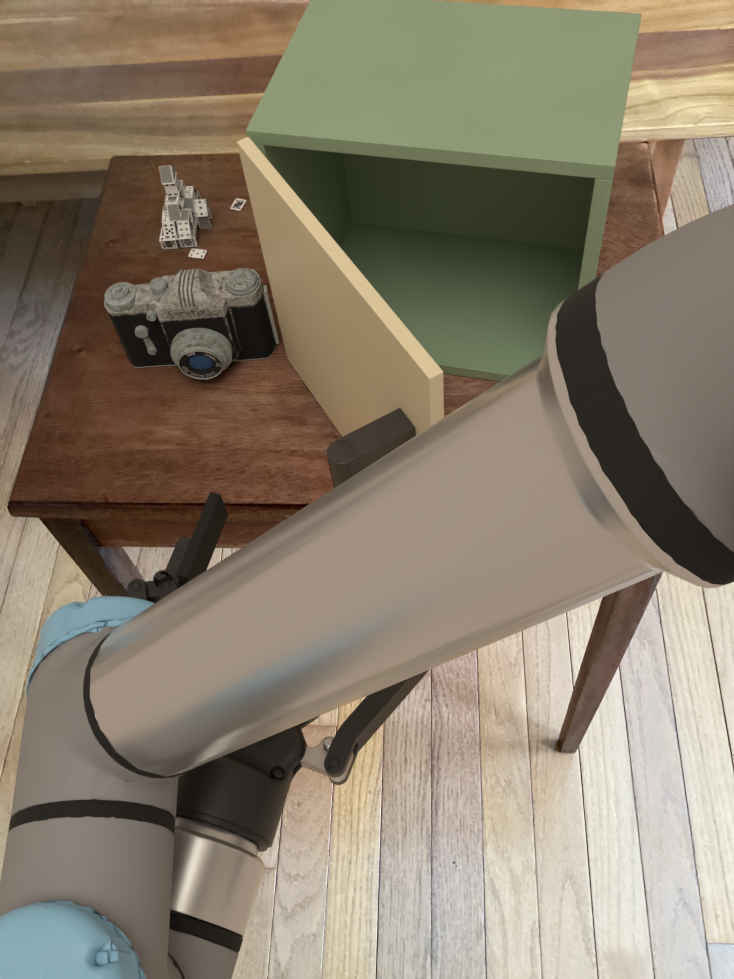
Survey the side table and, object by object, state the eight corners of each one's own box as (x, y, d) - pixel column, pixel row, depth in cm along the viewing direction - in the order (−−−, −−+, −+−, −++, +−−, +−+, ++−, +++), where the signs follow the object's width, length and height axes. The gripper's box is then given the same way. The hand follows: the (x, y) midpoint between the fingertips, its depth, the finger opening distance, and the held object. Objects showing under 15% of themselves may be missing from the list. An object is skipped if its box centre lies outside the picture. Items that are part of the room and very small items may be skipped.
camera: (121, 394, 86) (85, 321, 78) (130, 340, 90) (96, 264, 82) (278, 384, 86) (258, 308, 77) (280, 329, 89) (262, 251, 81)
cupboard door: (371, 606, 73) (339, 424, 52) (230, 386, 86) (160, 173, 65) (446, 564, 74) (443, 371, 54) (296, 354, 87) (248, 135, 67)
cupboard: (575, 392, 82) (615, 165, 62) (294, 351, 88) (245, 130, 67) (600, 251, 91) (641, 13, 71) (343, 222, 97) (313, -8, 76)
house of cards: (242, 256, 95) (226, 196, 89) (159, 262, 96) (137, 203, 89) (247, 197, 100) (232, 136, 94) (168, 203, 101) (148, 143, 94)
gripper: (35, 800, 58) (159, 516, 69) (422, 905, 53) (491, 581, 64) (-17, 766, 52) (129, 459, 62) (418, 882, 47) (495, 526, 57)
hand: (312, 520), depth 63 cm, fingers open, 13 cm apart
